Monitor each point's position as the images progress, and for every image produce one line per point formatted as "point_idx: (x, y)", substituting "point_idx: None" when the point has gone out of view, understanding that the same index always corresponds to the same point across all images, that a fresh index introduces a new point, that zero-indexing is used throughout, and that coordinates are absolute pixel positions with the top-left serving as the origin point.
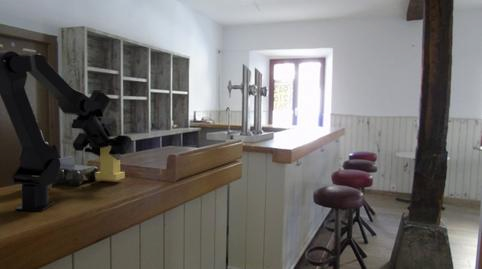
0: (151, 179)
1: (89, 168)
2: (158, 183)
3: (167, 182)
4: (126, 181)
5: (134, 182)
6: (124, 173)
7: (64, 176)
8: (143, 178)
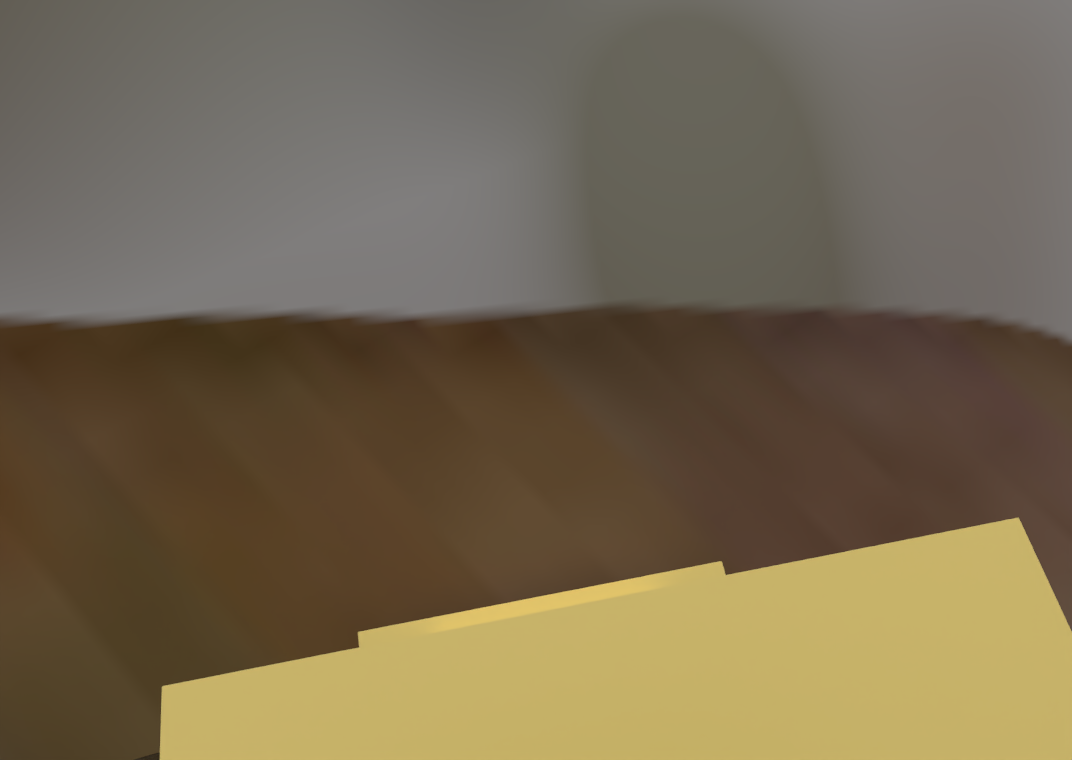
0: (824, 317)
1: None
2: (1040, 428)
3: (1063, 340)
4: (690, 550)
5: (805, 538)
6: (719, 574)
7: None
8: (719, 324)
